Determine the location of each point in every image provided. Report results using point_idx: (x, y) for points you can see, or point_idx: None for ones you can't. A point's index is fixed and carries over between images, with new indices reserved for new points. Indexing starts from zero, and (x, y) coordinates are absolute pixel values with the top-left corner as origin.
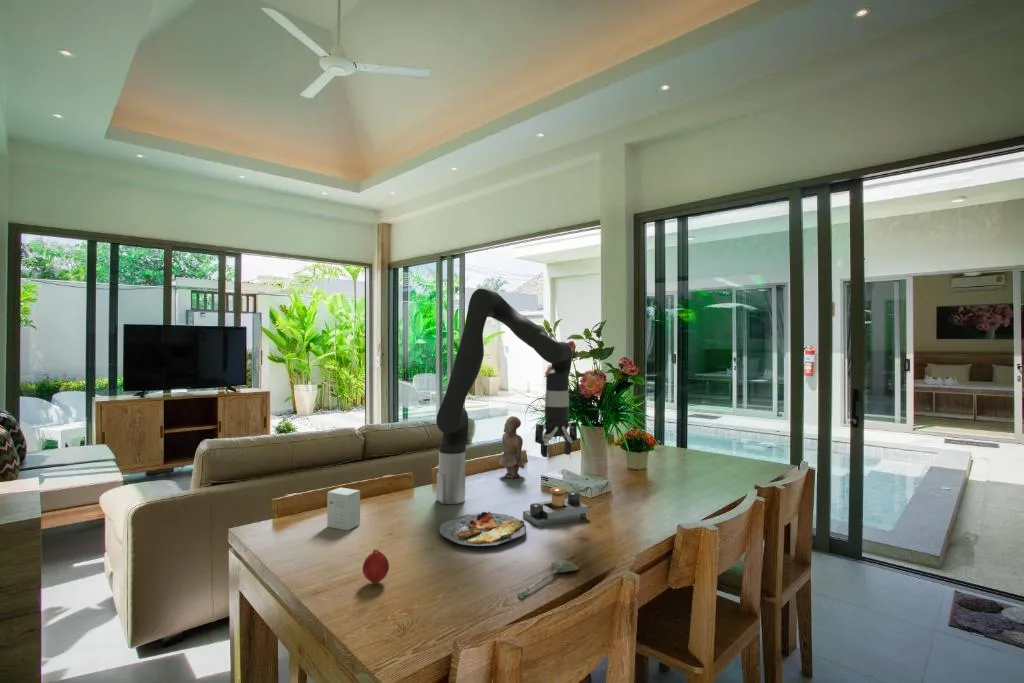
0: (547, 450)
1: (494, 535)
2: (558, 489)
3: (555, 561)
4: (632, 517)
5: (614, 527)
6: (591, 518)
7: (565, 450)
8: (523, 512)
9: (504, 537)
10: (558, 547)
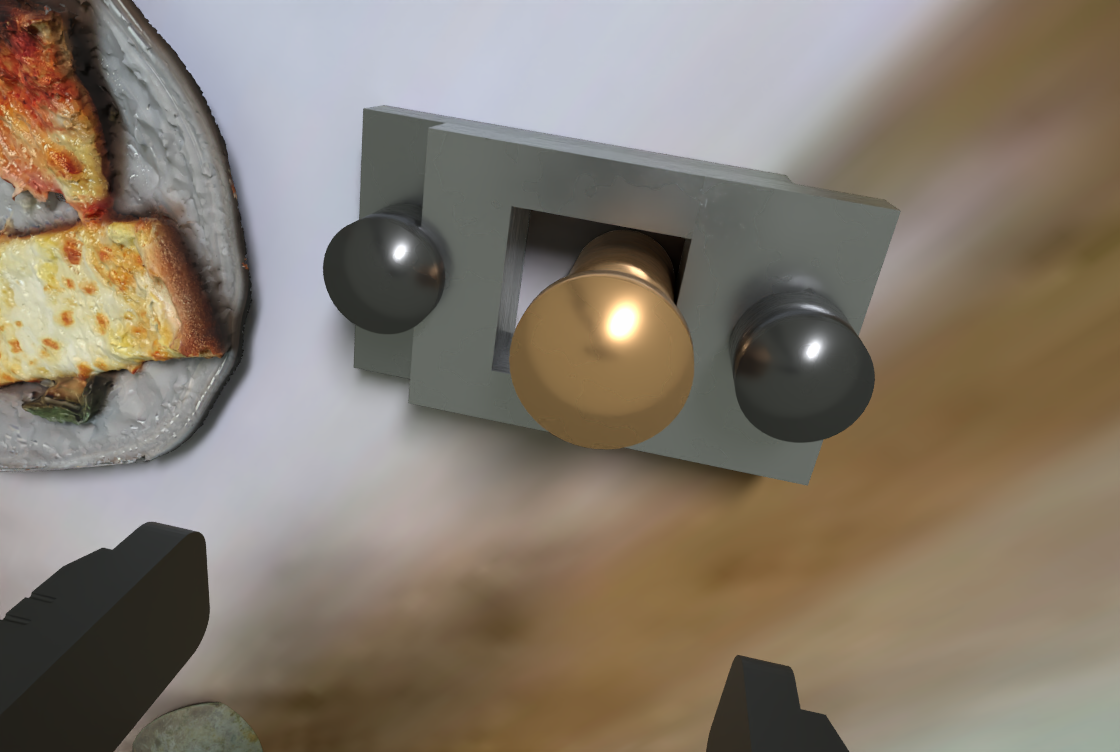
0: (115, 747)
1: (23, 324)
2: (602, 369)
3: (154, 745)
4: (1085, 604)
5: (795, 628)
6: (823, 443)
7: (734, 737)
8: (366, 117)
9: (47, 416)
10: (307, 604)
